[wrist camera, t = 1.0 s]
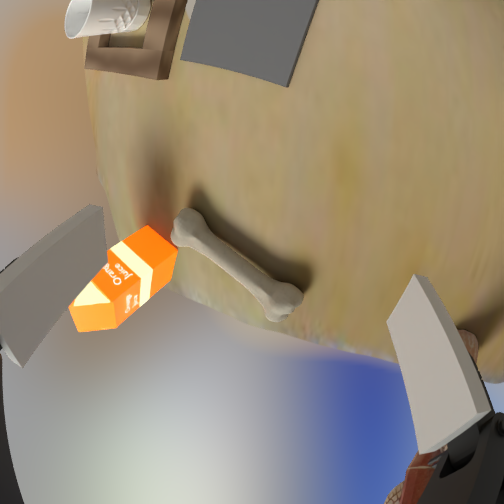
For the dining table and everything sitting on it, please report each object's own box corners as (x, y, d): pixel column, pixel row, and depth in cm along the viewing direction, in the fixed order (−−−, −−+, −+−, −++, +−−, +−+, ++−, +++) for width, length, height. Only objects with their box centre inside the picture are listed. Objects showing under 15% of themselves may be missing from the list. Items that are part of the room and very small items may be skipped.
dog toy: (183, 228, 41) (161, 243, 37) (192, 198, 37) (167, 212, 33) (290, 310, 39) (275, 334, 35) (312, 287, 35) (298, 313, 31)
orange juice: (143, 256, 51) (65, 316, 37) (146, 224, 45) (54, 287, 31) (171, 280, 50) (94, 349, 36) (178, 250, 44) (85, 326, 30)
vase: (471, 318, 24) (427, 580, 2) (487, 349, 24) (449, 571, 2) (406, 349, 31) (327, 566, 10) (427, 375, 31) (364, 567, 10)
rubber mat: (212, -35, 17) (208, -37, 16) (328, -26, 14) (326, -28, 13) (183, 59, 26) (180, 59, 25) (288, 87, 23) (285, 87, 23)
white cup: (155, 23, 24) (92, 21, 17) (122, 42, 28) (64, 47, 20) (153, -19, 20) (93, -26, 13) (120, 3, 24) (64, 4, 16)
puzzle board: (115, -31, 19) (106, -32, 18) (205, -51, 15) (195, -56, 14) (93, 67, 33) (84, 68, 31) (168, 79, 28) (156, 80, 27)
